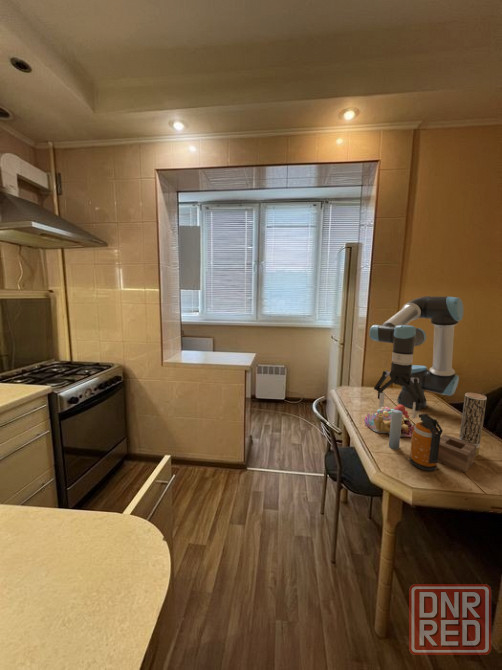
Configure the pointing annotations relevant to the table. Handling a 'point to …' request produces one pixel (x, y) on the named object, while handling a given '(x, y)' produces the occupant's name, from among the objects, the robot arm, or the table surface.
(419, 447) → the canister
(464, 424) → the bark covered log
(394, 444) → the dowel
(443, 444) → the hollow walnut box
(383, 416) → the candy landscape model
